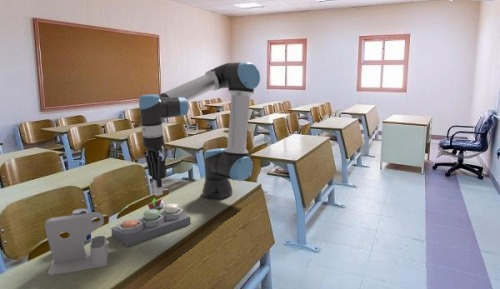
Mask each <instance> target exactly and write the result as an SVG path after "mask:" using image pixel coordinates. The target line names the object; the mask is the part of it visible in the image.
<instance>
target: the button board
mask: <svg viewBox="0 0 500 289" xmlns="http://www.w3.org/2000/svg"><path fill="white" fill-rule="evenodd" d="M178 208H179V211H178V212H177V213H175V214H166V213H165V210H164V208H163V209H162V210H161V212H160V213H159V218H158V219H156V220H152V221H147V220H145V219H144V215H142V216H141V217H140V218H138V219H134V220H136V221H137V222H138V225H137V226H135V227H132V228H122V223H123V222H124V221H127V219H126V220H123V221H121V222H120V223H119V224H117V225H116V226H113V227H111V228H110V229H111V236H113V237H114V238H115V239H116V240H118V241H119V242H120V243H122V244H123V245H124V246H126V247H130V246H133V245H136V244H138V243H141V242H144V241H147V240H149V239H153V238H155V237H158V236H161V235H165V234H166V233H168V232H169V233H170V232H171V231H174V230H177V229H180V228H183V227H186V226H189V225H191V224H192V222H191V221H192V220H191V216H190V215H187V214H185V212H184V209H183V208H181V207H179V206H178Z"/></svg>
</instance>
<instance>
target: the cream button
mask: <svg viewBox="0 0 500 289" xmlns="http://www.w3.org/2000/svg"><path fill="white" fill-rule="evenodd" d="M178 207H179V204H178V203H167V204H165V206H164V208H163V209H164V210H165V213H166V214H175V213H177V212H178V211H179V208H180V207H179V208H178Z"/></svg>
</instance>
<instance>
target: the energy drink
mask: <svg viewBox="0 0 500 289" xmlns="http://www.w3.org/2000/svg"><path fill="white" fill-rule="evenodd" d="M85 213H89V209H88V208H85V207H83V208H82V207H80V208H76V209H74V210H72V213H71V215H77V214H85ZM91 240H92V233H90V234H89V235H87V236H86V237H84V238H83V243H84V245H86V244H88V243H91Z"/></svg>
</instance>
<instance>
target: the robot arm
mask: <svg viewBox="0 0 500 289" xmlns="http://www.w3.org/2000/svg"><path fill="white" fill-rule="evenodd" d="M260 82H261V74H260V71H259V69H258V68H257V66H256V64H254V63H253V62H246V61H242V62H227V63H224V64H221V65H219V66H216V67H214V68H212V69H209V70H208V71H205V73H204V75H201V76H199V77H197V78H195V79H192V80H190V81H186V82H185V83H182V84H180V85H178V86H176V87H173V88H171V89H169V90H166V91H164V92H162V93H159V94H142V95H140V96H139V97H138V108H139V109H138V110H139V115H140V116H139V117H140V122H141V129H140V131H141V133H142V136H143V137H142V144H143V147H144V148H146V151H144V152H143V156H144V157H145V162H146V166H147V171H148V175H149V177H151V179H152V181H153V192H154V196H156V197H158V196H161V195H164V194H163V184H162V183H163V182H162V179H165V177H166V175H165V172H166V159H167V155H166V154H164V155H163V150H162V146H164V144H165V140H164V136H163V134H164V131H163V121H162V120H163V119H168V118H176V117H182V116H186V115H187V114H188V113H189V111H190V107H189V101H191V100H193V99H195V98H197V97H200V96H202V95H204V94H207V93H208V92H211V91H214V92H216V91H217V90H220V89H228V92H229V94H230V107H229V108H230V109H229V110H230V111H229V124H228V135H227V137H228V138H227V146H226V147H225V148H224V147H223V148H222V147H221V148H212V149H208V150H206V151H204V153H203V157H204V158H203V163H204V183H203V187H202V190H201V194H202V197H204V198H206V199H212V200H219V199H220V200H221V199H226V198H229V197H231V196H232V195H233V187H232V184H231V182H230V180H232V181H238V182H241V181H242V182H243V181H245V180H247V179H248V178H249V176H251V174H252V171H253V168H254V164H253V161H252V159H251V157H249V153H250V152H249V150H248V149H247V138H248V127H249V126H248V125H249V113H250V112H249V110H250V100H251V96H252V95H253V94H254V92H255V91H254V90H255V89H256V88H257V87H258V86H259V84H260Z"/></svg>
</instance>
